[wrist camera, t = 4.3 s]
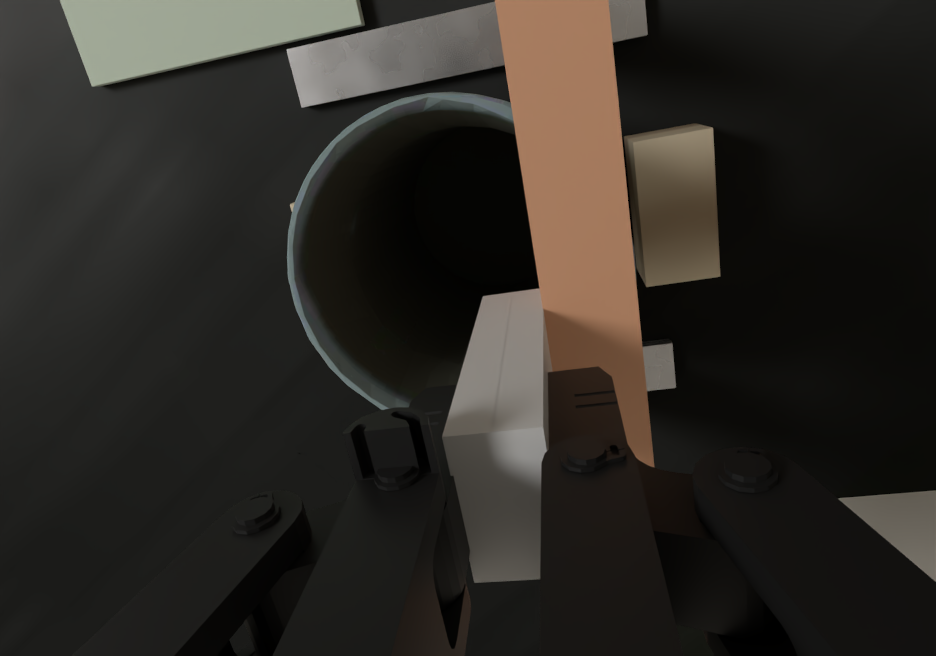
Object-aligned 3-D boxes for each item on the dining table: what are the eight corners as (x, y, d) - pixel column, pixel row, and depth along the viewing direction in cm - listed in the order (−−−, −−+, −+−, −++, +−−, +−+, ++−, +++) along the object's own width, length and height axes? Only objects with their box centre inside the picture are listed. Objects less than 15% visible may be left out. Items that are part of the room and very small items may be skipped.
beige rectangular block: (313, 193, 29) (289, 204, 27) (695, 123, 26) (713, 127, 24) (345, 310, 31) (326, 332, 29) (703, 257, 28) (720, 276, 26)
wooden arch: (515, 1, 25) (477, -109, 11) (565, -10, 24) (594, -140, 10) (572, 398, 31) (597, 658, 17) (613, 394, 30) (673, 656, 16)
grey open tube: (615, 297, 29) (648, 424, 18) (411, 320, 31) (329, 448, 20) (594, 69, 26) (619, 57, 15) (366, 111, 28) (239, 128, 17)
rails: (291, 50, 27) (286, 49, 27) (640, -30, 25) (642, -32, 24) (387, 415, 33) (385, 420, 33) (673, 382, 31) (676, 387, 30)
